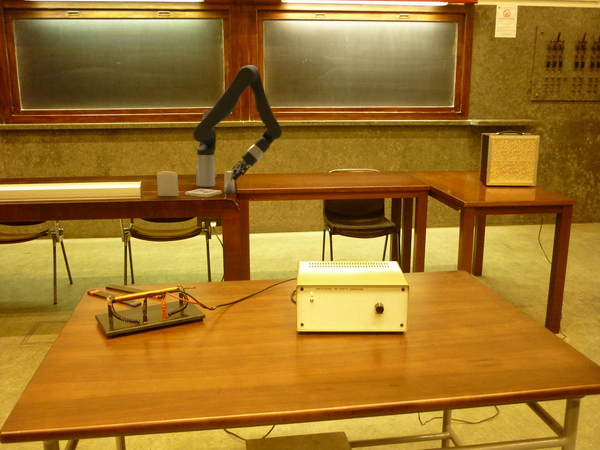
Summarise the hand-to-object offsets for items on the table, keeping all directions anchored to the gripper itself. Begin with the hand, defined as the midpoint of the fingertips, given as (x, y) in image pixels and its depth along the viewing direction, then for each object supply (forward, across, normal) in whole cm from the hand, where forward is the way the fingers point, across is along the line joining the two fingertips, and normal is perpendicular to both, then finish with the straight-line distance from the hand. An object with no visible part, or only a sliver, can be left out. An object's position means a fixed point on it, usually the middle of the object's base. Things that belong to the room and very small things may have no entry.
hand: (231, 178), depth 299 cm
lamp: (+4, -62, +6) cm, 63 cm away
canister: (+6, 0, +4) cm, 8 cm away
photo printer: (+28, 0, -18) cm, 33 cm away
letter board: (+16, +1, -5) cm, 17 cm away
